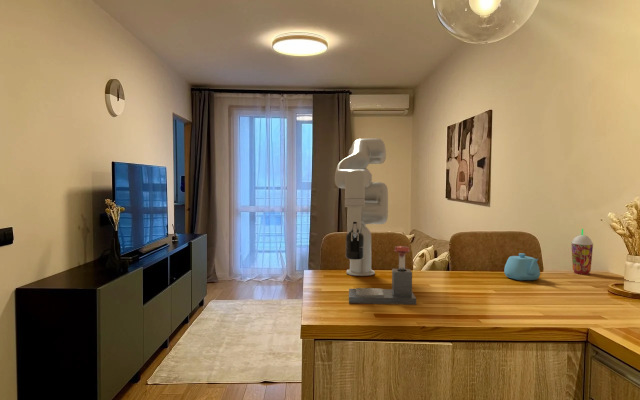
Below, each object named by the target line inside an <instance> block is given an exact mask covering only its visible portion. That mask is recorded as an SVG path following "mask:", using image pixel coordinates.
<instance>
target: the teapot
mask: <svg viewBox="0 0 640 400" xmlns="http://www.w3.org/2000/svg"><path fill="white" fill-rule="evenodd" d="M538 260H539V258H535V257H532V256H527V255H526V253H521V252H519V253H518V255H511V256H509V257H508V259H507V260H506V263H505V265H504V271H503V272H504V275H505V276H506V278H509V279H512V280H515V281H535V280H538V279H539V278H540V276H541V271H540V266H539V264H538Z"/></svg>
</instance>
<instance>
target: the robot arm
mask: <svg viewBox="0 0 640 400" xmlns="http://www.w3.org/2000/svg"><path fill="white" fill-rule="evenodd" d="M386 158H387V150H386V145H385V141H384V140H383V139H381V138H375V137H373V138H371V137H370V138H368V137H367V138H358V139H356V140H354V141H353V143H352V144H351V147H350V148H349V150H348V156H347V157H345V158H343V159H342V160H341V161H339V163H338V164H337V166H336V169H335V173H334V184H335V186H336V187H337V188H339V189H344V208H347V211H346V214H347V215H346V216H347V217H346V221H347V222H346V224H347V225H346V231H347V234H349V232H351V252H359V233H360V231H361V234H363V236H364V257H363V258H362V259H357V260H355V259H349V269H346V274H347V275H349V276H356V277H357V276H359V277H368V276H373V275H375V272H376V271H375V270H373V269H372V233H371V231H370V229H369V228H368V226H367V225H384V224H385V223H386V222H388V217H389V191H388V186H387V184H386V183H385V182H381V181H376V182H375V181H372V180H373V175H372V173H371V171H370V170H369V169H368V166H369V165H381V164H384V163H385V161H386ZM357 228H358V232H357Z"/></svg>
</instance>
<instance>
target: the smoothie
mask: <svg viewBox="0 0 640 400" xmlns="http://www.w3.org/2000/svg"><path fill="white" fill-rule="evenodd" d="M570 246H571V260H572V262H571V263H572V270H573V273H575V274H577V275H586V276H587V275H590V272H591V271H592V270H591V269H592V262H593V261H592V260H593V259H592V257H593V248H594V243H593V241H592V239H591V238H590V237H589V236H588V235H585V234H584V228H581V234H579V235H576V236H575V237H574V238H573V239H572V240H571V245H570Z"/></svg>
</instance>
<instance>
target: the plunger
mask: <svg viewBox="0 0 640 400" xmlns="http://www.w3.org/2000/svg"><path fill="white" fill-rule="evenodd" d="M394 252H395V253H398V269H399V271H405V269H406V253H410V246H406V245H397V246H396V245H395V246H394Z"/></svg>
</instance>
